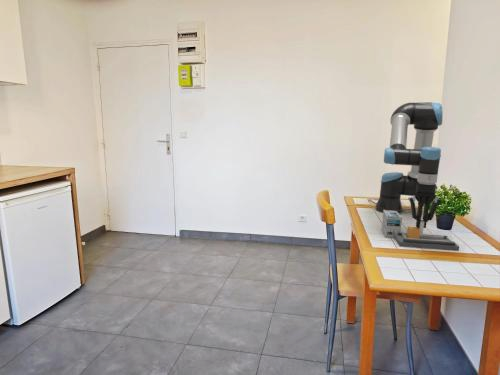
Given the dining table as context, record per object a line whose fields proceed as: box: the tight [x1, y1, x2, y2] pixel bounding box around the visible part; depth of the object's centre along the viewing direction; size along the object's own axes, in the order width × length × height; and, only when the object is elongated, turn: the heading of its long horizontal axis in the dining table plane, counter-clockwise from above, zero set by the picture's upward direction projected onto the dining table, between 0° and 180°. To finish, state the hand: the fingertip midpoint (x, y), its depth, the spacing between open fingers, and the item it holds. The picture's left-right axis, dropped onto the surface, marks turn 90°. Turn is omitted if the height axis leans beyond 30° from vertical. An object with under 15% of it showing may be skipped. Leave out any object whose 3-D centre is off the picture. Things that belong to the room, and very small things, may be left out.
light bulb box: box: [381, 210, 403, 239], centre depth 159 cm, size 11×7×11 cm, turn 169°
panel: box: [393, 232, 460, 252], centre depth 148 cm, size 10×24×3 cm, turn 80°
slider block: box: [406, 226, 420, 239], centre depth 148 cm, size 4×4×5 cm
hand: (419, 234), depth 148 cm, fingers closed
